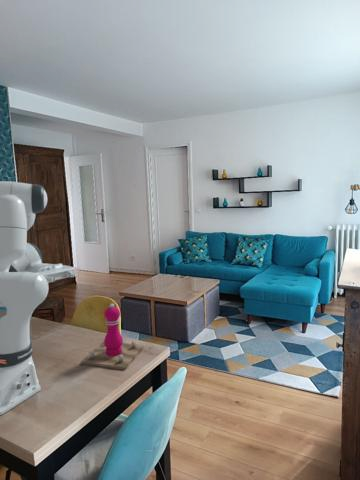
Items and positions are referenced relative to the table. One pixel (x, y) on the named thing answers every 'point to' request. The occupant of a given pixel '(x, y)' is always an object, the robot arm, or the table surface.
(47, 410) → the table surface
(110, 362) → the pin base
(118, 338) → the pepper mill
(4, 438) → the table surface
